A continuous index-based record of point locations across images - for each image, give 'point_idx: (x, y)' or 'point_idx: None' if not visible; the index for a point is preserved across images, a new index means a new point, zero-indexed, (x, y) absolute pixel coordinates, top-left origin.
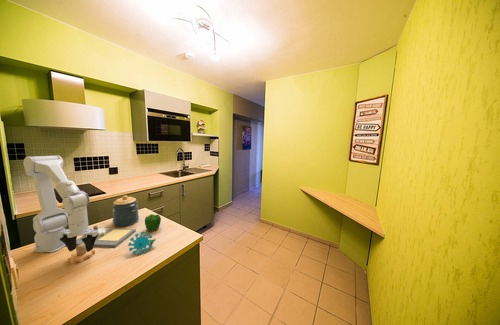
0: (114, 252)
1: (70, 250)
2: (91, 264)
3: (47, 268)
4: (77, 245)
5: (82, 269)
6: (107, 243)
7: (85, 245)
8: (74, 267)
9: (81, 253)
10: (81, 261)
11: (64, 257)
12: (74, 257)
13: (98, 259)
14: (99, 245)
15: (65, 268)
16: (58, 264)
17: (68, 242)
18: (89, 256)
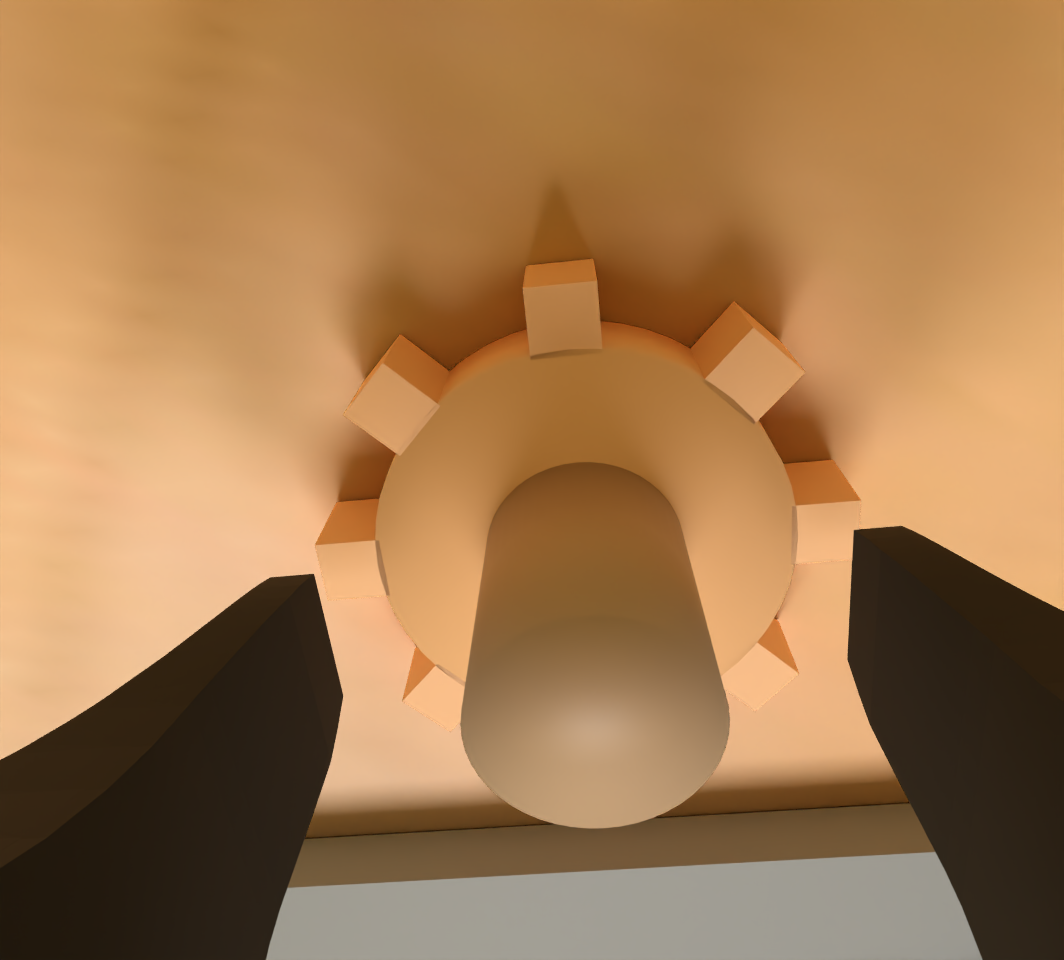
0: (2, 716)
1: (870, 542)
2: (39, 319)
3: (1059, 6)
4: (727, 717)
5: (42, 128)
6: (396, 916)
7: (167, 708)
8: (340, 160)
9: (504, 528)
10: (381, 360)
11: (1023, 436)
12: (625, 408)
13: (83, 487)
14: (549, 851)
15: (539, 89)
16: (907, 193)
17: (1053, 752)
18: (343, 521)
